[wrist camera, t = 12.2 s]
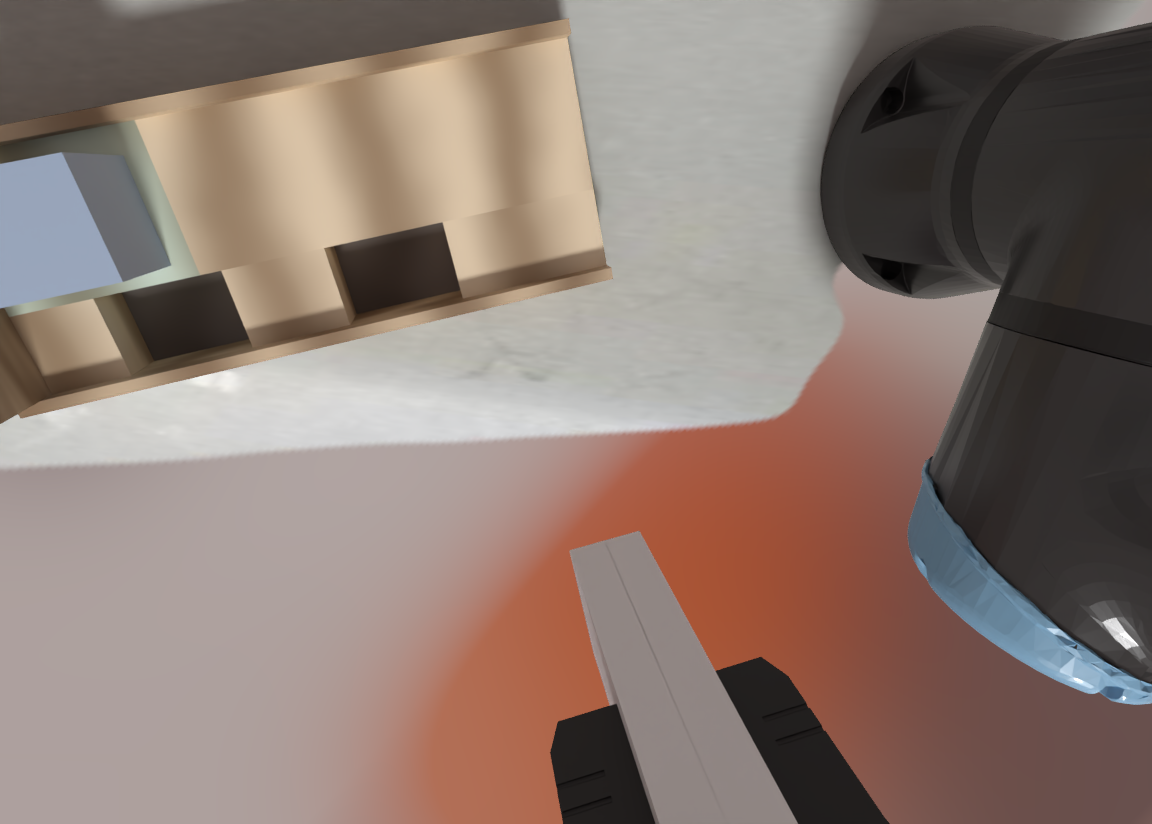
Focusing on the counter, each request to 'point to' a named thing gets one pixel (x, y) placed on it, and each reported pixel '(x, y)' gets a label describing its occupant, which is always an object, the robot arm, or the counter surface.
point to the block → (72, 227)
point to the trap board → (318, 212)
